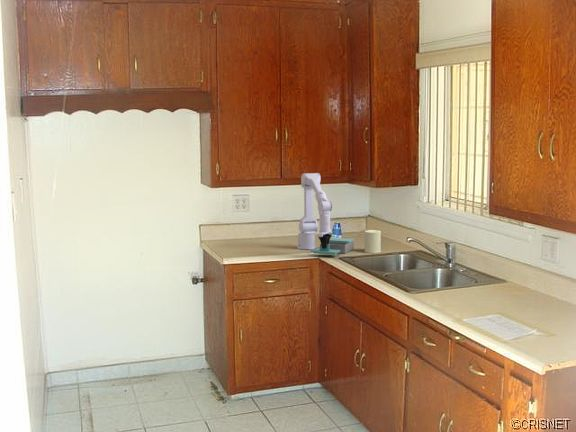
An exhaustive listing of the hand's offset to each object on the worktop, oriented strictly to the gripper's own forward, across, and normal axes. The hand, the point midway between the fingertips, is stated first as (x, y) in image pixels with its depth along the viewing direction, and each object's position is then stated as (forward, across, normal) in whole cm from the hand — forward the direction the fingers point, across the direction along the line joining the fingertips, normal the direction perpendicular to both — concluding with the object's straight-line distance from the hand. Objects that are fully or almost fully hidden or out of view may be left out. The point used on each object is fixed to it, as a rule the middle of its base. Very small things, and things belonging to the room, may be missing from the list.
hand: (324, 248), depth 375 cm
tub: (+5, +18, -1) cm, 19 cm away
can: (+5, +24, -20) cm, 31 cm away
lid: (+3, +2, 0) cm, 3 cm away
